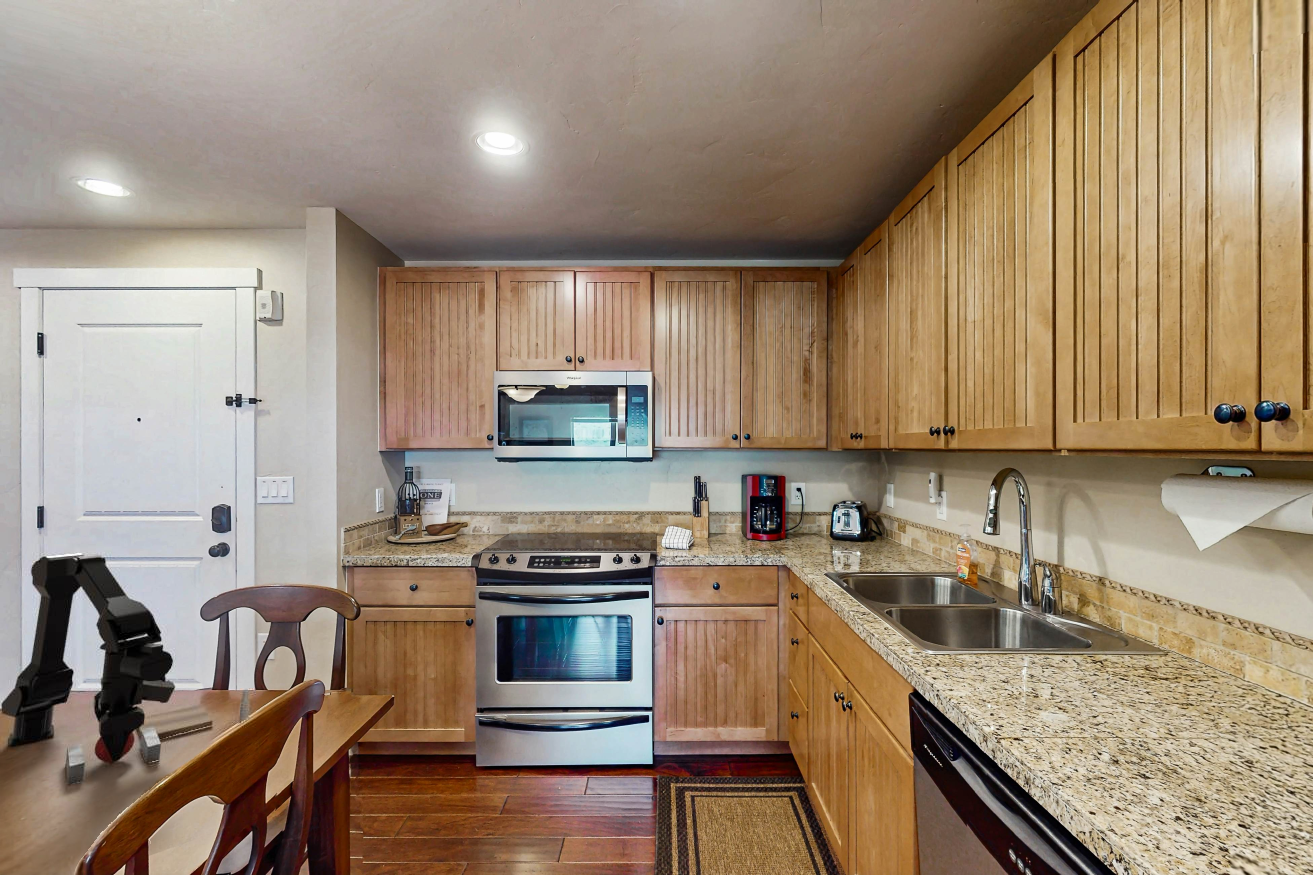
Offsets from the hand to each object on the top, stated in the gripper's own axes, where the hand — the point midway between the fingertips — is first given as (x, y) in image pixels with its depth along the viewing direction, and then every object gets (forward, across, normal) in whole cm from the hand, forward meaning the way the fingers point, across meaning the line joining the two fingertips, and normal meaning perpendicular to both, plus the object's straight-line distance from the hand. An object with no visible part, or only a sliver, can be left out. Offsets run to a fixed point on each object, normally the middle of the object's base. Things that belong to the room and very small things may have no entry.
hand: (113, 751), depth 114 cm
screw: (+2, -11, -19) cm, 22 cm away
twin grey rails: (+2, 0, 0) cm, 2 cm away
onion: (+2, 0, 0) cm, 2 cm away
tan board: (+2, +12, -11) cm, 16 cm away
